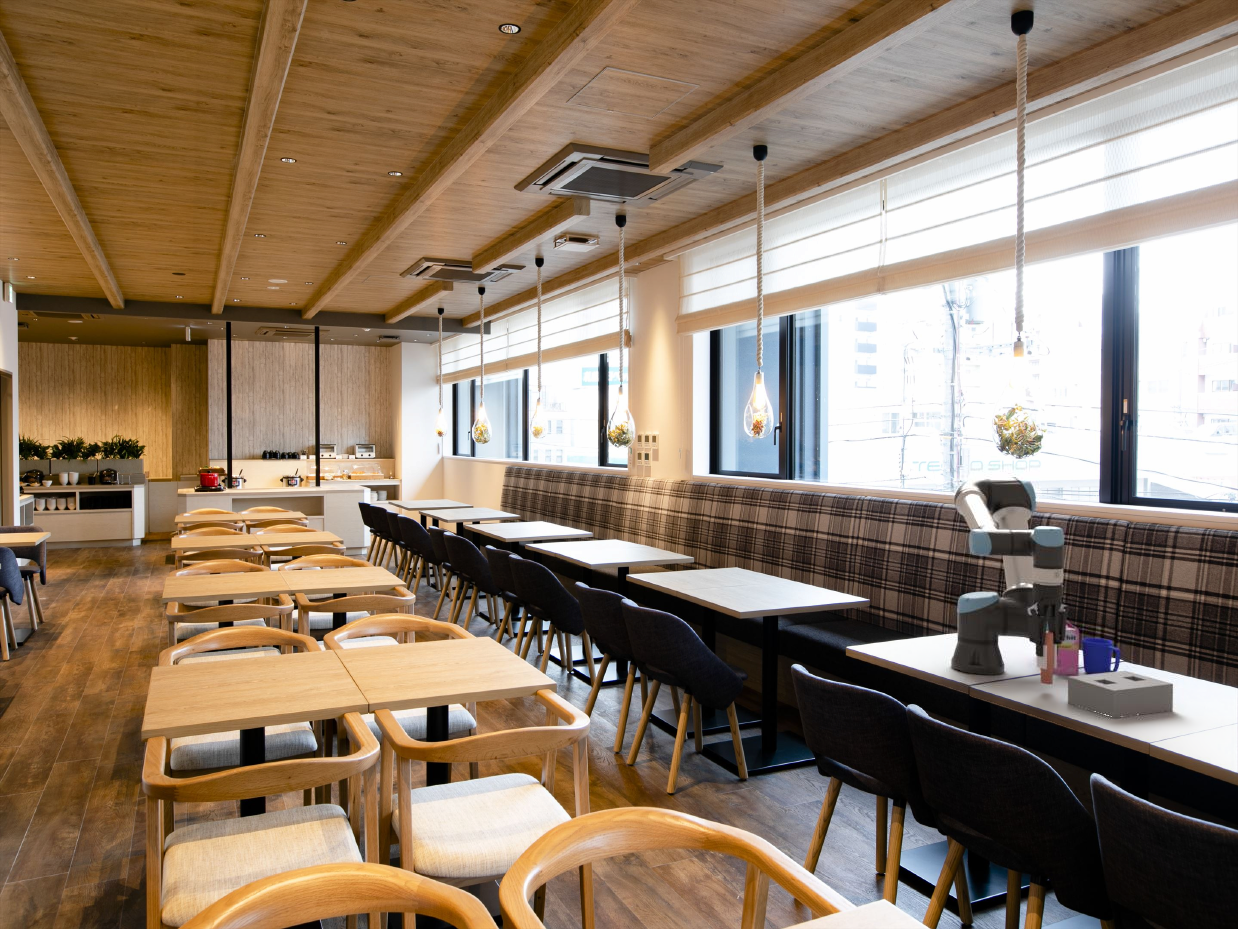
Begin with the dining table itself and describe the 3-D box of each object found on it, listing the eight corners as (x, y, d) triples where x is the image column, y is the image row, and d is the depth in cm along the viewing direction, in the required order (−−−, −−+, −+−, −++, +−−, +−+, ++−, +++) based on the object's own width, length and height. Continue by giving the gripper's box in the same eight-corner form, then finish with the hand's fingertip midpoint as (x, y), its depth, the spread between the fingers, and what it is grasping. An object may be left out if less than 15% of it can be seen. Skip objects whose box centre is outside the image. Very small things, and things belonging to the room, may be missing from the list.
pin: (1038, 681, 239) (1038, 631, 238) (1046, 680, 240) (1047, 631, 239) (1046, 684, 236) (1047, 634, 236) (1055, 683, 237) (1055, 633, 237)
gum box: (1034, 655, 283) (1035, 614, 283) (1061, 656, 281) (1061, 615, 280) (1050, 673, 260) (1050, 628, 259) (1079, 675, 258) (1080, 629, 257)
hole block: (1113, 718, 215) (1113, 690, 215) (1067, 703, 228) (1068, 676, 228) (1172, 710, 221) (1172, 683, 221) (1125, 696, 235) (1125, 670, 235)
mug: (1107, 681, 250) (1107, 647, 250) (1075, 671, 262) (1075, 638, 261) (1130, 679, 252) (1130, 645, 252) (1097, 669, 264) (1097, 637, 264)
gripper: (1035, 587, 231) (1034, 673, 232) (1081, 583, 236) (1080, 668, 237) (1014, 582, 238) (1013, 666, 239) (1059, 579, 243) (1058, 661, 244)
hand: (1046, 667), depth 238 cm, fingers closed on pin, 3 cm apart
